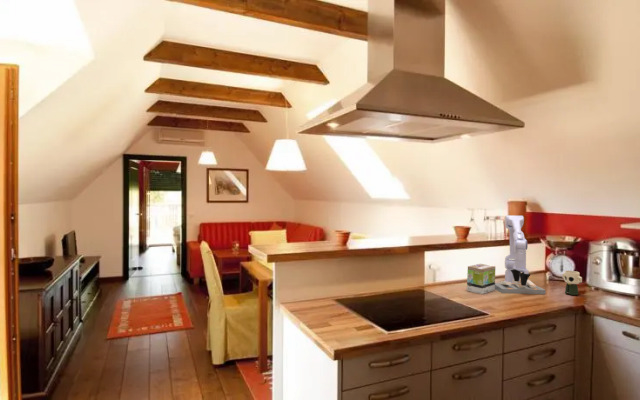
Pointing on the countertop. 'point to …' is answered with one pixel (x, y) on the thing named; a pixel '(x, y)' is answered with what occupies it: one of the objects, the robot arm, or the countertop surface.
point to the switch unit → (518, 289)
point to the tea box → (481, 278)
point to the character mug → (572, 281)
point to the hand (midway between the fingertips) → (520, 283)
